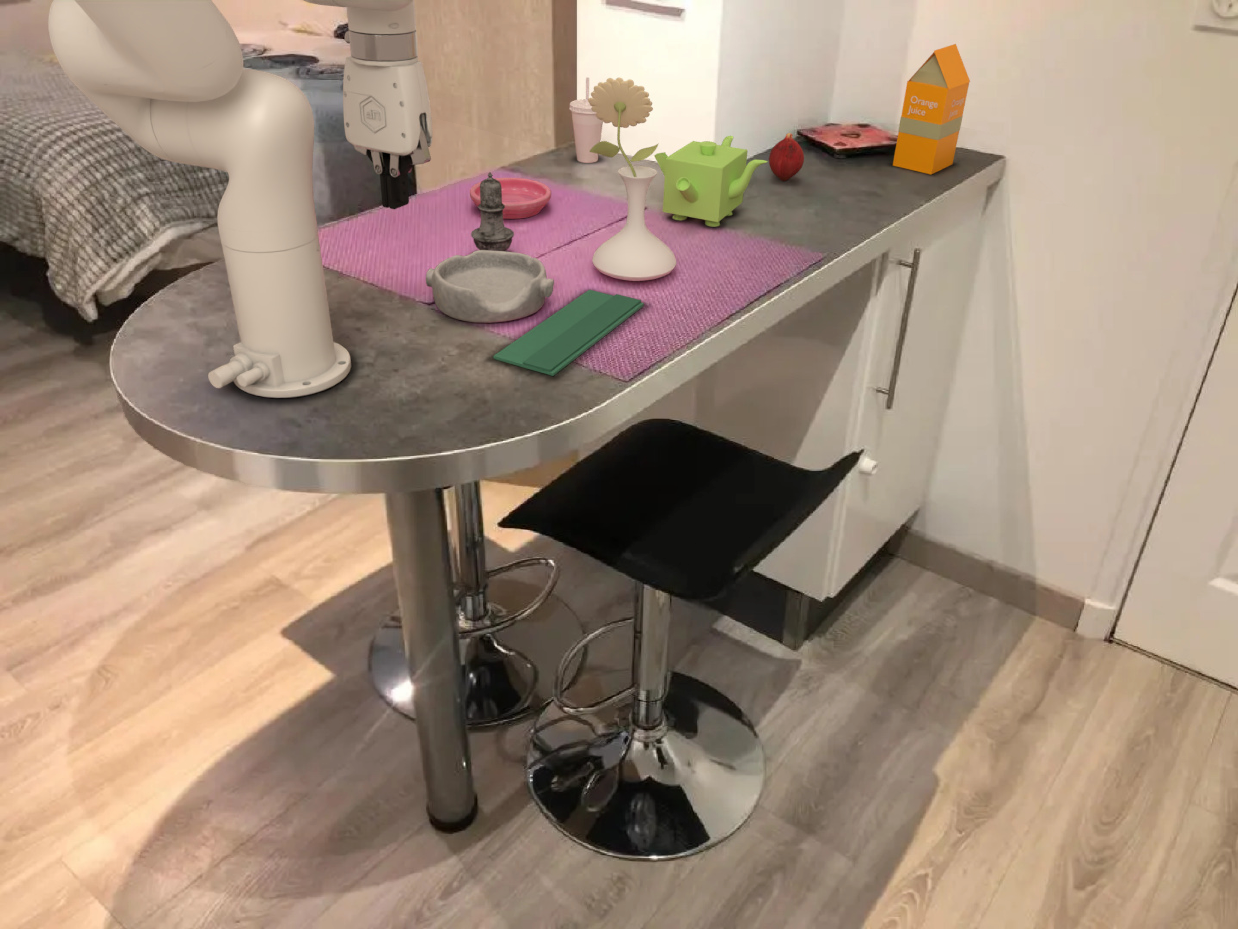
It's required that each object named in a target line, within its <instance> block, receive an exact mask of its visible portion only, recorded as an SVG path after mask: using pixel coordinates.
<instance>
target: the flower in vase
mask: <svg viewBox="0 0 1238 929" xmlns="http://www.w3.org/2000/svg"><path fill="white" fill-rule="evenodd" d="M590 96H591V97H589V99H588V102H589V104H590V105H591V106H592V108H591V109H592V111H593V112H596V114H595V115H596V117H597V118H599V119H600V120H603V124H610V123H611V125H612V126H613V127H615V128H617V132H616V133H617V134H616V135H617V136H616V137H617V138H616V140H617V145H616V144H614V143H612V142H610V141H607V140H602V141H601V140H600V142H599V143H597V144H596V145H594V146H593V147H592V149H591V150H590V151H589V152H592V153H597V154H599V155H600V156H602V157H603V156H604V157H607V158H614V157H615V156H617V154H618V153H619V152H620V153H621V154H622V156H623V158H624V159H625V161H626V162H627V165H626V166H623V167H620V168H618V170H617V173H618V174H619V176H620V177H621V180H622V181H623V184H624V187H625V191H626V200H627V214H626V221H625V224H624V226H623V227H622V228H621V229H620V230H619V231H618V232H617V233H615V234H614V235H613V236H611V237H609V238H608V239H607V240H605V241H603V243H601V244H600V246H599V247H597V249H596V250H595V251H594V253H593V255H592V258H591V261H592V264H593V265H594V267H595V269H596V270H597V271H598V272H600V273H601V274H603V275H605V276H607V277H610V278H614V279H617V280H622V281H629V282H631V281H632V282H640V281H641V282H642V281H643V282H644V281H651V280H655V279H659V278H662V277H665V276H667V275H669V274H670V273H671V272H672V271H673V270H674V269H675V267H676V266H677V259H676V256H675V254H674V251H672V250H671V248H670V247H669V246H668V245H667V244H666V243H664V242H663V241H662V240H661V239H659V238H658V237H657V236H656V235H655V234H653V233H652V232H651V231H650V230H649V228H648V227H647V225H646V219H645V211H646V210H645V208H646V200H647V194H648V190H649V188H650V185H651V183H652V181H653V179H654V178H655V177H656V176H657V174H658V171H657V170H656V169H655V168H653V167H650V166H645V165H633V164H632V163H633V162H640V161H643V160H646V159H647V158H649V157H650V156H652V155H653V153H655V152H656V150H657V148H658V146H659V143H657V144H655V145H652V146H648V147H644V148H641V149H639V150H637V152H636V153H634V155H633V156H632V157H631V158H630V159H629V157H628V156H627V155H626V153H625V151H624V149H623V147H622V144H621V128H623V129H627V128H629V126H630V127H636V126H637V125H639V124H645V123H646V122H647V121H648V120H647V118H648V117H650V115H651V114H650V113H651V112H652V111H653V110H654V107H653V106H652V105H653V102H652V101H651V99H650V98H649V96H650V94H649V92H648V91H645V87H644V86H643V85H639V86H638V85H636V84H635V82H634V80H633V79H630V78H629V79H627V80H624V79H623V78H622V77H617V78H615V79H614V78H613V77H608V78H607V79H606V81H604V82H603V81H599V82H598V83H597V85H594V86H593V91H592V92H590ZM631 162H632V163H631Z"/></svg>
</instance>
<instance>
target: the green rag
mask: <svg viewBox="0 0 1238 929" xmlns="http://www.w3.org/2000/svg"><path fill="white" fill-rule="evenodd" d="M644 306H645V303H644V302H642V300H641V299H638V298H635V297H634V298H633V297H630V296H625V295H622V294H618V293H616V294H614V295H613V294H609V293H605V292H601V291H597V290H593V289H588V290H587V291H585V292H584V293H582V294H581V295H579V296H578V297H576V298H575V299H573V300H572V301H571V302H569V303H568V304H566V305H565V306H563V307H562V308H560V309H559V310H557V311H556V312H555V313H553V314H552V315H550V316H549V317H547V318H546V319H544V320H543V321H542V322H540V323H539V324H537V325H536V326H534V327H533V328H532V329H529V331H526V332H525V333H524V334H523V335H521V336H520V337H518V338H517V339H515V340H514V341H512V342H511V343H510V344H509V345H507V346H505V347H504V348H503V349H501V350H499V351H498V352H497V353H495V354H494V355H493V357H492V359H493V360H497V361H499V362H503V363H507V364H510V365H513V366H517V367H519V368H523V369H527V370H529V371H530V370H531V371H534V372H537V373H541V374H544V375H548V376H551V377H554V376H555V375H557V374H558V373H559V372H560V371H562V370H563V369H564V368H565V367H567V366H569V365H570V364H571V363H572V362H574V361H575V360H576V359H578V358H579V357H580V356H581V355H583V353H585V352H586V351H588V350H589V349H590V348H591V347H593V346H594V345H595V344H597V343H598V342H599V341H601V340H602V339H603V338H605V337H606V336H607V335H608V334H609V333H611V332H612V331H614V329H615V330H616V328H617V327H618V326H620V325H621V324H622V323H624V322H625V321H627V320H628V319H629V318H630V317H632V315H635V313H637V312H638V311H639V310H641V309H642V308H643V307H644Z"/></svg>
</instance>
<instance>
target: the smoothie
mask: <svg viewBox="0 0 1238 929" xmlns="http://www.w3.org/2000/svg"><path fill="white" fill-rule="evenodd" d="M589 98H590V77H585V98H583V99H582V98H581V99H575V100H571V101H570V102H569V111H570V112H571V120H572V128H573V136H574V145H575V153H576V160H577V161H578V162H580V163H585V164H591V163H596V162H598V161H599V155H600V154H597V153H592V152H589V151H590V150H591V149H592V147H593V146H594V145H596V144H597V143H599V142H601V139H602V132H603V124H604V122H603V120H600V119H599V118H597V117H596V115H595V114H596V112H593V111H592V109H591V108H592V106H591V105H590V104H589V102H588V99H589Z"/></svg>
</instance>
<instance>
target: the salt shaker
mask: <svg viewBox="0 0 1238 929" xmlns="http://www.w3.org/2000/svg"><path fill="white" fill-rule="evenodd" d="M493 176H494V175H493V173H491V172H489V173H488V174H487V177H486V178H485V179H483V180H482V182H481V181H480V182H481V183H480V201H481V204H479V205H478V206H477V208H478V209H479V212H480V224H479V227H477V228H475V229H473V230H472V231H471V232H470V236H471V238H472V239H473V243H474V245H475V248H477V249H478V250H490V251H505V252H507V251H508V249H509V248H510V247H511V244H512V242H513V237H514V236H515V232H514V231H513V230H512V229H511V228H509V227H506V225H505V222H504V219H503V209H504V208H505V205H504V204H502V189H501V183H500V182H499V181H498V180H496V179H494V178H495V177H494V178H493Z"/></svg>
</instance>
